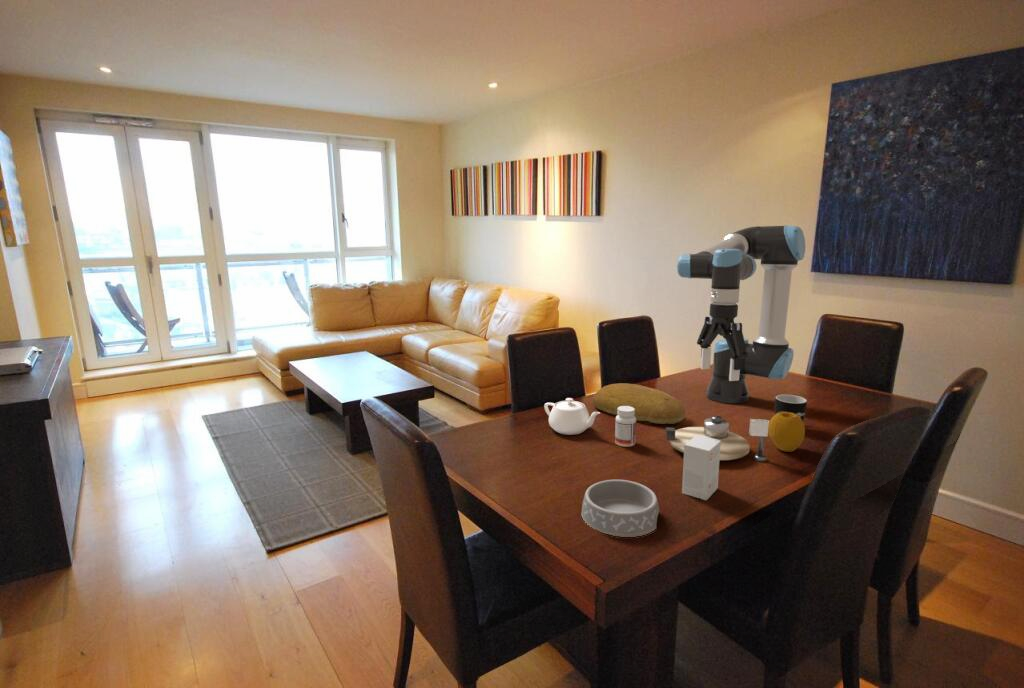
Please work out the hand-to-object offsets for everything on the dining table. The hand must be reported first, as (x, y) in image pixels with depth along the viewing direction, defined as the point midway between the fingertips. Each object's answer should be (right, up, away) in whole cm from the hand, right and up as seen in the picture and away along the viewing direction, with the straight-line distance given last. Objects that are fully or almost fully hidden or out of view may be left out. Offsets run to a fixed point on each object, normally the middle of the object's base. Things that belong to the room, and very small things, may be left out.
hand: (718, 374), depth 154 cm
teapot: (-42, -20, +17) cm, 49 cm away
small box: (-14, -28, -24) cm, 40 cm away
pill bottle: (-27, -22, +6) cm, 35 cm away
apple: (+19, -22, -1) cm, 29 cm away
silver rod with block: (+9, -24, -7) cm, 26 cm away
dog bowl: (-37, -31, -34) cm, 59 cm away
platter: (-4, -21, 0) cm, 21 cm away
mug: (+30, -18, +16) cm, 39 cm away
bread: (-16, -16, +33) cm, 40 cm away
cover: (0, -18, +4) cm, 19 cm away
